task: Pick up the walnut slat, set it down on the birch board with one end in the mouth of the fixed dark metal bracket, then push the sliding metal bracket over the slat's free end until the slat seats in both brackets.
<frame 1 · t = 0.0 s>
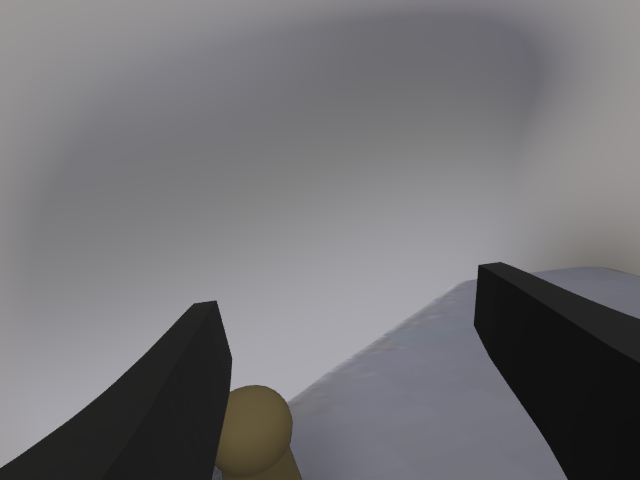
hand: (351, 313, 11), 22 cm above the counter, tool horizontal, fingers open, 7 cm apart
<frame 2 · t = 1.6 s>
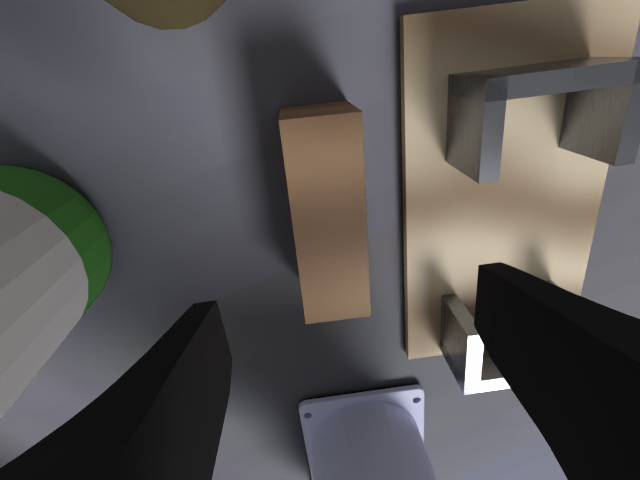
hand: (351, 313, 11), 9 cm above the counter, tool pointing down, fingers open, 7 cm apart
slat: (322, 198, 19), on the counter
wine bottle: (39, 235, 19), on the counter
board: (498, 204, 20), on the counter
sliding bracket: (537, 117, 16), point 2 cm above the counter, slide at 0.0 cm, touching board
fixed bracket: (493, 315, 22), resting on board
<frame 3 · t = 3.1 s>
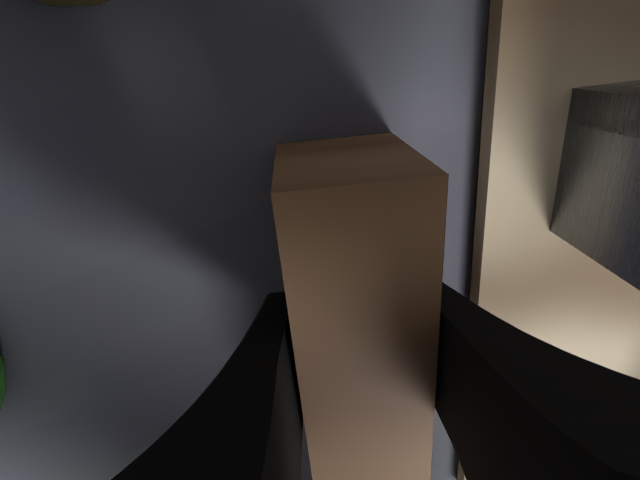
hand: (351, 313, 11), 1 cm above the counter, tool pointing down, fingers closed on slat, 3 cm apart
slat: (343, 285, 12), on the counter, touching gripper
board: (617, 287, 13), on the counter
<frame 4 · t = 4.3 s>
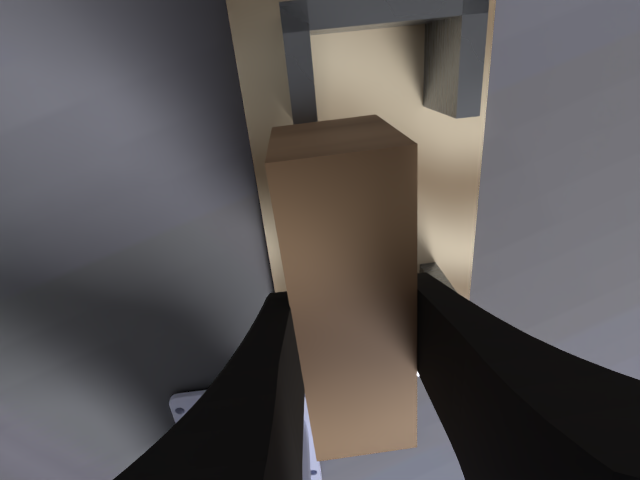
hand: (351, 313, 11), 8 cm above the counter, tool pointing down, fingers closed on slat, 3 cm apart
slat: (337, 257, 13), point 6 cm above the counter, touching gripper
board: (367, 174, 18), on the counter
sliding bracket: (375, 62, 14), point 2 cm above the counter, slide at 0.0 cm, touching board
fixed bracket: (375, 301, 20), resting on board
when the fingers open (3 cm above the counter, at t = 5.8 s): slat stays where it is, resting on board.
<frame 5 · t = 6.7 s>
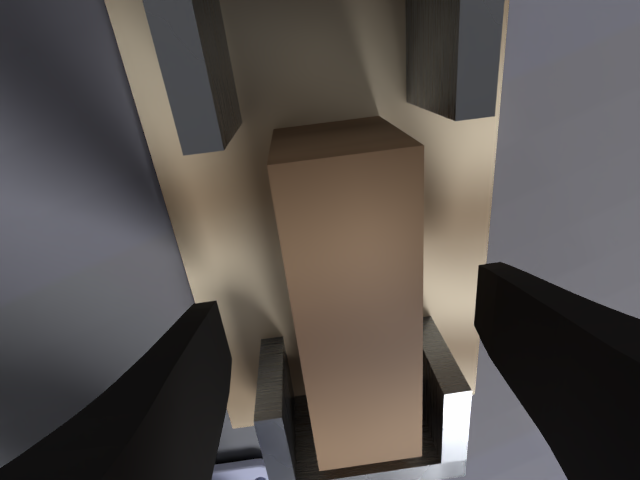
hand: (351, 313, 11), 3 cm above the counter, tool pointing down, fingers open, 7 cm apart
slat: (340, 261, 13), point 1 cm above the counter, touching board
board: (332, 199, 13), on the counter
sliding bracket: (322, 32, 8), point 2 cm above the counter, slide at 0.0 cm, touching board
fixed bracket: (350, 367, 15), resting on board
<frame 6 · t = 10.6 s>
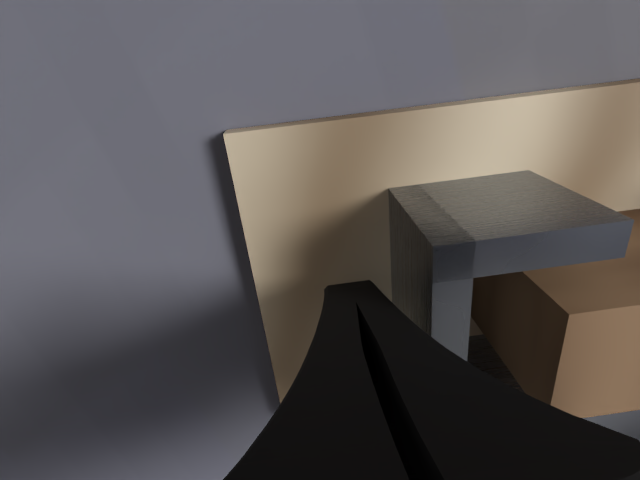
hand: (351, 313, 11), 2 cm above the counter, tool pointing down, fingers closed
slat: (619, 255, 12), point 1 cm above the counter, touching board
board: (543, 255, 12), on the counter
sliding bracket: (480, 313, 10), point 2 cm above the counter, slide at 1.6 cm, touching board, gripper
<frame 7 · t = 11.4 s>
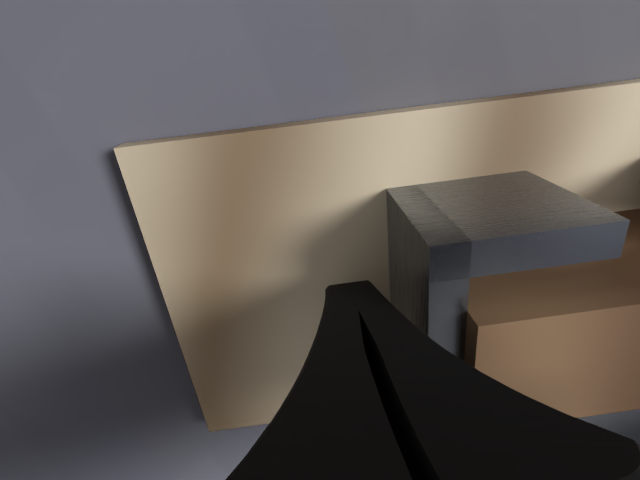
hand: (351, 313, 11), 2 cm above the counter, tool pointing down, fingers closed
slat: (562, 263, 12), point 1 cm above the counter, touching board, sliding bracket
board: (460, 266, 12), on the counter
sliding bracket: (477, 313, 10), point 2 cm above the counter, slide at 4.2 cm, touching board, gripper, slat
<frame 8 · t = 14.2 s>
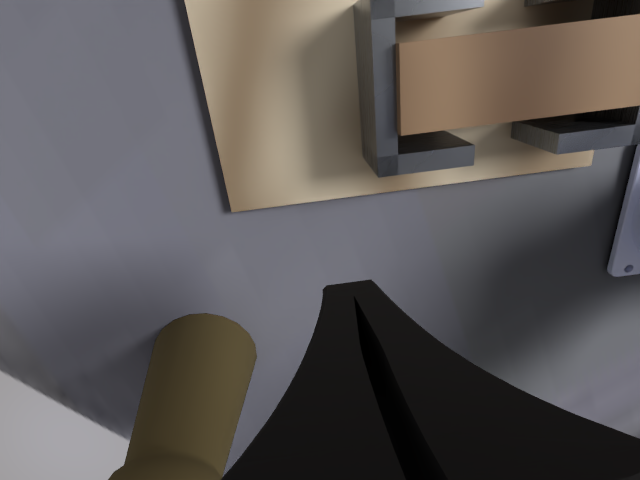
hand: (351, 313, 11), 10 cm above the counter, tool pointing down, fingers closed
slat: (477, 71, 17), point 1 cm above the counter, touching board, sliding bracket
cork: (206, 352, 24), on the counter
board: (408, 79, 18), on the counter
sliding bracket: (412, 84, 15), point 2 cm above the counter, slide at 4.2 cm, touching board, slat
fixed bracket: (559, 61, 17), resting on board
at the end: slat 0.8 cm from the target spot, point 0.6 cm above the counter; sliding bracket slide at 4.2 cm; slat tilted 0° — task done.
